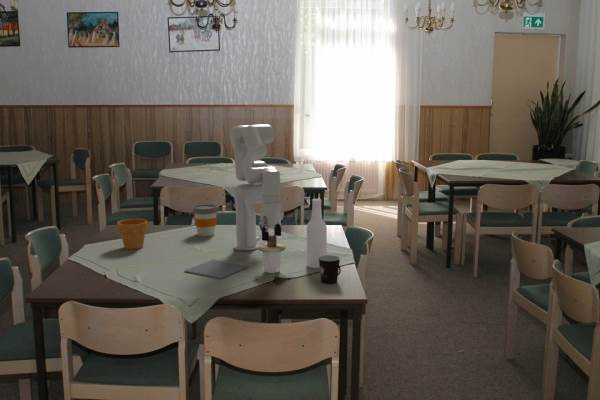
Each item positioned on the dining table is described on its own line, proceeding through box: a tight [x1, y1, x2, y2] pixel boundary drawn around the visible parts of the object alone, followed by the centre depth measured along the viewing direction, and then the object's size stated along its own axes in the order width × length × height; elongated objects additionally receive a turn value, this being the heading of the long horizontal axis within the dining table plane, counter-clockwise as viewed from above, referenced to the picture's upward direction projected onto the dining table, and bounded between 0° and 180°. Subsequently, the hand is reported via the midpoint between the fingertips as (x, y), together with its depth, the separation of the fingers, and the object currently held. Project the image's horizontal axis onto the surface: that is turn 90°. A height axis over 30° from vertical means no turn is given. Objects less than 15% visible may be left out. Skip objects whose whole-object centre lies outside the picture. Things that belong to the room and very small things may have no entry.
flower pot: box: [116, 218, 148, 250], centre depth 307 cm, size 14×14×13 cm
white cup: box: [262, 251, 282, 274], centre depth 267 cm, size 8×8×10 cm
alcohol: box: [306, 198, 328, 270], centre depth 272 cm, size 9×9×30 cm
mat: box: [183, 259, 250, 280], centre depth 271 cm, size 20×20×1 cm
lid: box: [257, 234, 287, 253], centre depth 266 cm, size 12×12×6 cm
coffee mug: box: [319, 254, 342, 285], centre depth 251 cm, size 12×9×10 cm
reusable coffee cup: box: [192, 204, 218, 237], centre depth 332 cm, size 13×13×15 cm
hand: (271, 238), depth 266 cm, fingers open, 9 cm apart
